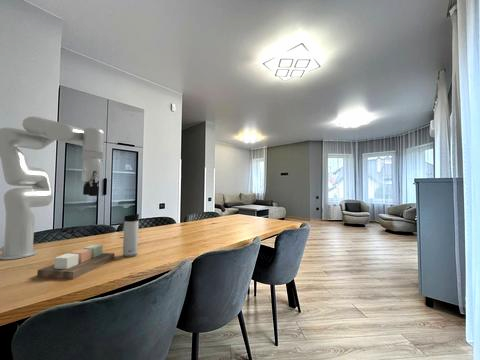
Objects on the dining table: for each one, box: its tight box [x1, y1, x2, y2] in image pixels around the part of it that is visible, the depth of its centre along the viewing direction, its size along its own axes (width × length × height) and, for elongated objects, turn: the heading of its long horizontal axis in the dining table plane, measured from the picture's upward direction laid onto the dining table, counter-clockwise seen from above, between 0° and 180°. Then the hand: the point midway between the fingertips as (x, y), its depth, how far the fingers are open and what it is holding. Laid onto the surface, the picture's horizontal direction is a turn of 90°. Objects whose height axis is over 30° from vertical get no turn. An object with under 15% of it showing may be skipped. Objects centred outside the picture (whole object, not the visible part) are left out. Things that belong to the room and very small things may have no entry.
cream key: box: [53, 253, 79, 269], centre depth 82 cm, size 5×5×4 cm
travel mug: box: [122, 213, 140, 258], centre depth 104 cm, size 6×7×20 cm
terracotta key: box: [69, 248, 91, 263], centre depth 88 cm, size 5×5×4 cm
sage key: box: [82, 244, 103, 258], centre depth 95 cm, size 5×5×4 cm
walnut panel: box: [36, 252, 115, 280], centre depth 88 cm, size 14×22×2 cm, turn 175°
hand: (90, 195), depth 94 cm, fingers open, 9 cm apart
